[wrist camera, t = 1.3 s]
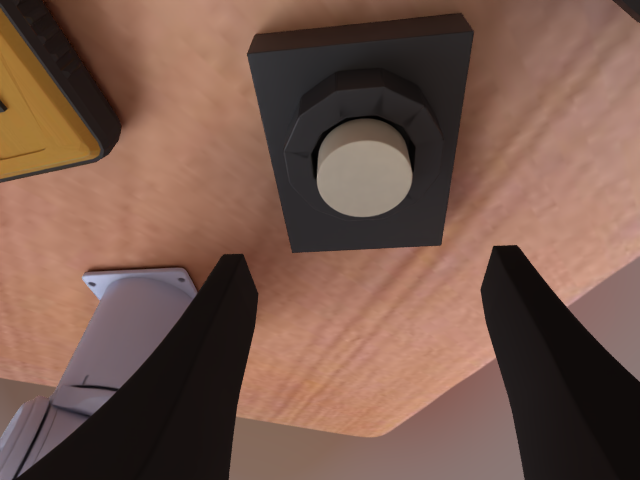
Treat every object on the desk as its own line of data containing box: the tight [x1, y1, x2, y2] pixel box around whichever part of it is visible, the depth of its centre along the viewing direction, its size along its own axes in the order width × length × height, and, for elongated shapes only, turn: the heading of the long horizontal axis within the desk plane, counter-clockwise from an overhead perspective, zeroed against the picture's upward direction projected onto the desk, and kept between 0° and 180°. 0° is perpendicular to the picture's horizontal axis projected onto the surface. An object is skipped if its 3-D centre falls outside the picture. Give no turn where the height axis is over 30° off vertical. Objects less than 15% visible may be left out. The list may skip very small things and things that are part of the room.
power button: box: [317, 118, 412, 217], centre depth 18 cm, size 4×4×2 cm
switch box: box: [247, 13, 474, 253], centre depth 20 cm, size 12×9×4 cm
